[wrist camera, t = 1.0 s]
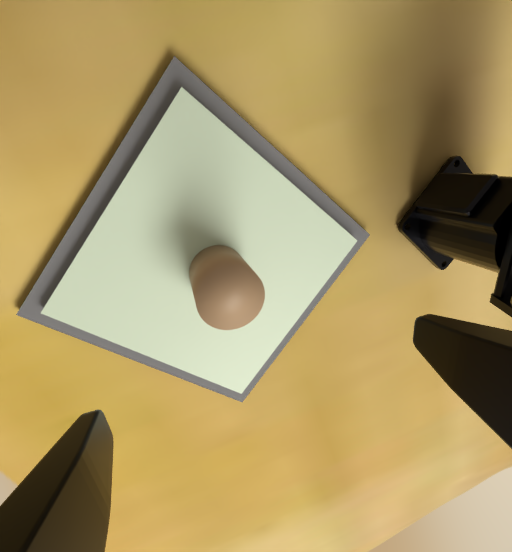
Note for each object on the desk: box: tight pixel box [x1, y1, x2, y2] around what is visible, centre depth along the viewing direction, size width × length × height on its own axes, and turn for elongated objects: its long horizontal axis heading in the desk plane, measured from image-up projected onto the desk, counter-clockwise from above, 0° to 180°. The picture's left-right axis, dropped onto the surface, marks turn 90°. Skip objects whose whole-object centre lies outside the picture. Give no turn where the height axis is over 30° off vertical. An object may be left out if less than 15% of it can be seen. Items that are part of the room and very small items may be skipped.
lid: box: [41, 87, 357, 394], centre depth 17 cm, size 14×14×5 cm
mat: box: [16, 56, 369, 402], centre depth 19 cm, size 16×16×1 cm
